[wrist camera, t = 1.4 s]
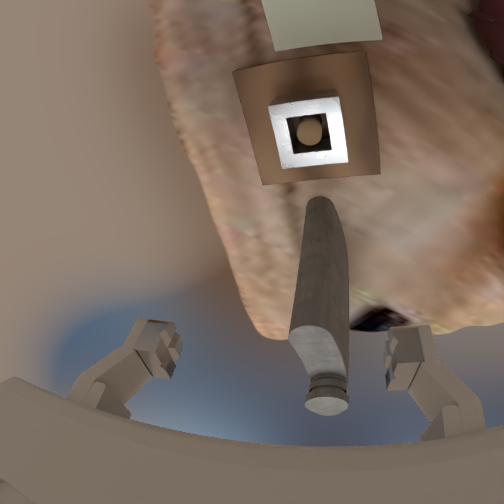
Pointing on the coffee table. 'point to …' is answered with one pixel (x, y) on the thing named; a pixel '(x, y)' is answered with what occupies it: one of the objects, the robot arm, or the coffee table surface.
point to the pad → (320, 22)
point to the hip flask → (323, 309)
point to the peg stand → (315, 125)
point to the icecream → (491, 27)
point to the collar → (285, 134)
